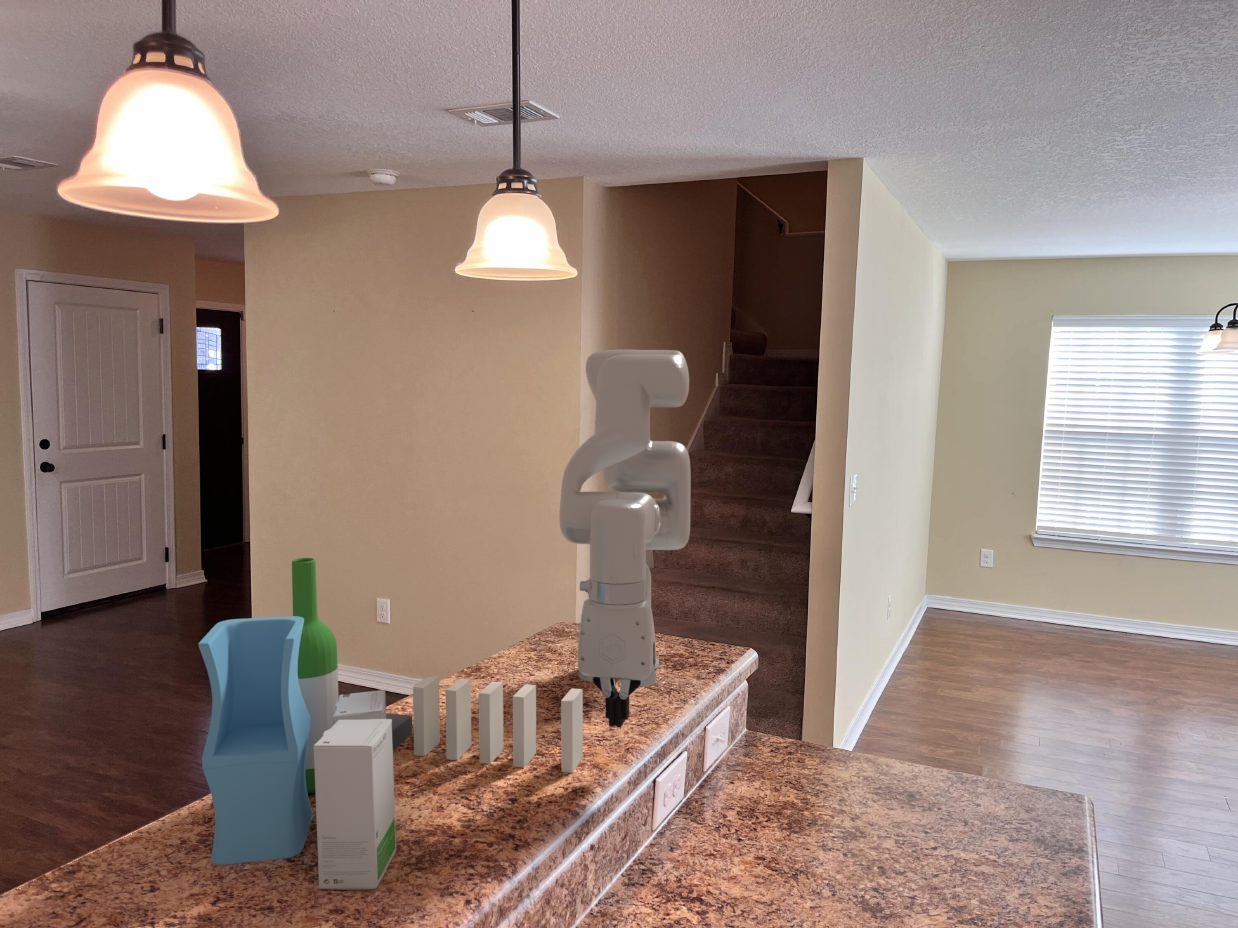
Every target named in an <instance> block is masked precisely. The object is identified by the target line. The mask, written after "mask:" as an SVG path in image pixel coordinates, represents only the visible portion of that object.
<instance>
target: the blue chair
mask: <svg viewBox="0 0 1238 928" xmlns="http://www.w3.org/2000/svg"><path fill="white" fill-rule="evenodd" d="M303 624H304V618H303V617H299V616H293V615H292V616H289V615H288V616H274V617H273V616H272V617H271V616H270V617H255V618H254V617H251V618H249V617H248V618H234V619H226V620H222V621H219V622H217V623H216V624H214V625H213V627H212V628H211V629H210V630H209V631H208V632H207V633H206V635H205V636H203V638H202V639H201V640H200V641H199V642H198V648H199V651H200V654H201V656H202V659H203V662H204V665H205V668H206V671H207V675H208V679H209V684H210V688H211V689H210V690H211V696H212V698H211V699H212V701H211V702H212V703H211V719H210V723H209V729H208V733H207V736H206V741H205V746H204V748H203V751H202V752H203V753H202V756H201V763H202V766H201V767H202V771H203V773H204V776H205V779H206V782H207V785H208V788H209V791H210V795H211V798H212V803H213V808H214V815H215V816H214V817H215V818H214V819H215V823H214V824H215V826H214V838H213V845H212V850H211V857H210V861H211V863H213V864H214V865H219V866H220V865H234V864H244V863H253V862H255V863H256V862H264V861H274V860H283V859H290V858H293V857H296V856H297V855H299V854H300V853H301V852H303V849H304V847H305V844H306V841H307V837H308V835H309V830H310V826H311V822H312V819H313V817H314V813H313V810H312V806H311V803H310V798H309V793H307V787H306V777H305V766H306V753H307V745H308V739H309V732H310V727H311V726H310V715H309V712H308V710H307V708H306V705H305V703H304V700H303V697H302V694H301V690H300V686H299V681H298V674H297V671H298V654H299V646H300V640H301V634H302V629H303Z"/></svg>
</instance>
